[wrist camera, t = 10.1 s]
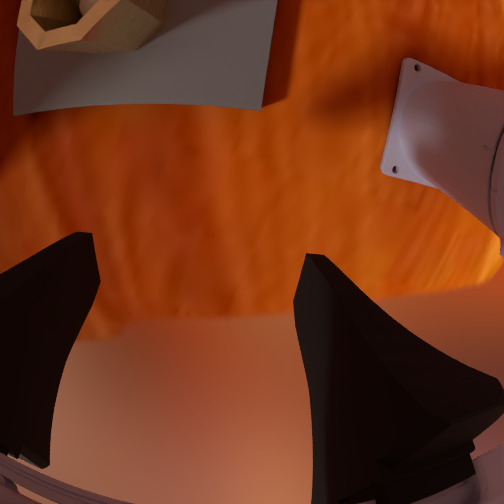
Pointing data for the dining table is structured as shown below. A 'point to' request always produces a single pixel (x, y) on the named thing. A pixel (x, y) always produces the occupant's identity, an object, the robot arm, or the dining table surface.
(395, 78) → the dining table surface
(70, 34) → the wooden collar
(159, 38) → the pin board
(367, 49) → the dining table surface
